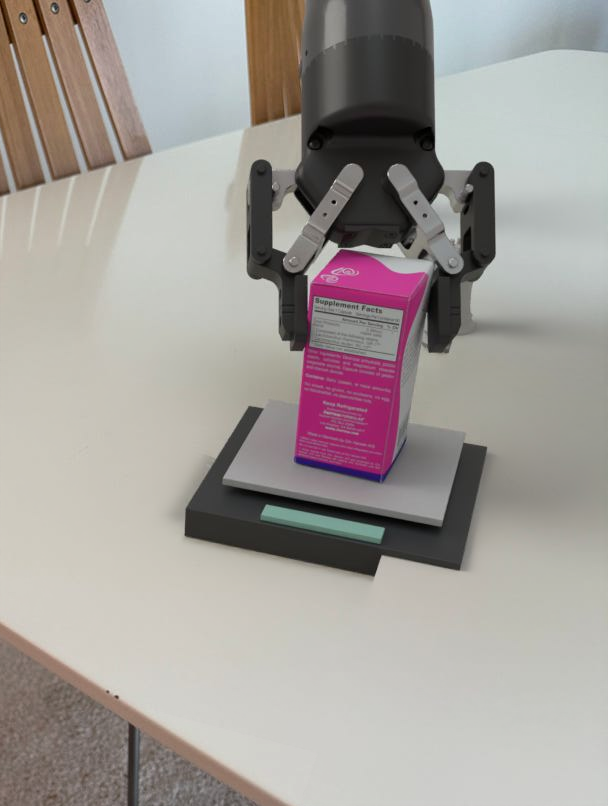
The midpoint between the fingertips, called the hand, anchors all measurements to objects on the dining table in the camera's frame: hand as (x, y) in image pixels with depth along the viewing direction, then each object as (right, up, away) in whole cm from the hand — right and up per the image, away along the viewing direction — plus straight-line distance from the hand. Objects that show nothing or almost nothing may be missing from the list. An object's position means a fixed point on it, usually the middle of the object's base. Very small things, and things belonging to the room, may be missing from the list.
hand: (369, 347), depth 59 cm
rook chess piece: (+12, +7, +26) cm, 29 cm away
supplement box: (0, -5, +6) cm, 8 cm away
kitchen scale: (0, -8, +7) cm, 11 cm away
